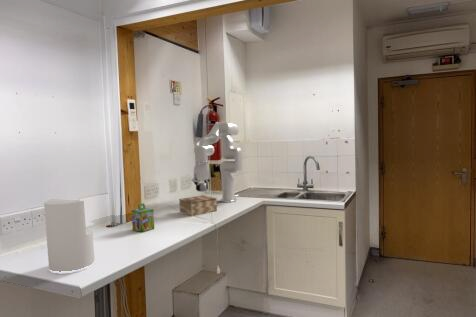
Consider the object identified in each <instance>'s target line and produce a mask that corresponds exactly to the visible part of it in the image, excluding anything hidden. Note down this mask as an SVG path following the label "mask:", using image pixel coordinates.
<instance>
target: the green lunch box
mask: <svg viewBox="0 0 476 317" xmlns="http://www.w3.org/2000/svg"><path fill="white" fill-rule="evenodd" d="M141 207H142V208H141ZM130 212H131V227H132V231H133V232H141V233H144V232H148V231H150V230H151V231H152V230H155V216H154V214H155V212H154V209H151V208H147V207H146V206H145V203H140V204H137V209H132V210H130Z"/></svg>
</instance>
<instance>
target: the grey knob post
mask: <svg viewBox="0 0 476 317" xmlns="http://www.w3.org/2000/svg"><path fill="white" fill-rule="evenodd" d="M199 185H200V191H199V192H206V191H207V188H206V183H205V182H199Z"/></svg>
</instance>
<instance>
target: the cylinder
mask: <svg viewBox="0 0 476 317" xmlns="http://www.w3.org/2000/svg"><path fill="white" fill-rule="evenodd" d="M43 206H44V207H43V208H44V218H45V219H44V220H45V231H46V235H45V236H46V245H47V257H48V258H47V260H48V270H49V269H50V270H52V271H59V272H61V271H72V270H78V269H81V268H84V267H86V266H89V265H91V264H92V263H93V262H94V260H96V259H95V246H94V233H93V232H94V231H93V229H91V228H87V227H86V213H85V212H86V211H85V200H76V199H75V200H74V199H73V200H70V199H47V200H45V201H44V202H43Z"/></svg>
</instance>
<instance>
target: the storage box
mask: <svg viewBox="0 0 476 317" xmlns="http://www.w3.org/2000/svg"><path fill="white" fill-rule="evenodd" d="M178 203H179V213H181V214H184V215H188V216H191V217H194V216H199V215H200V216H201V215H205V214H210V213H213V212H217V211H218V206H217V205H218V204H217V199H216V200H211V201H206V202H200V203H195V204H190V203H186V202H183V201H179V202H178Z"/></svg>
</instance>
